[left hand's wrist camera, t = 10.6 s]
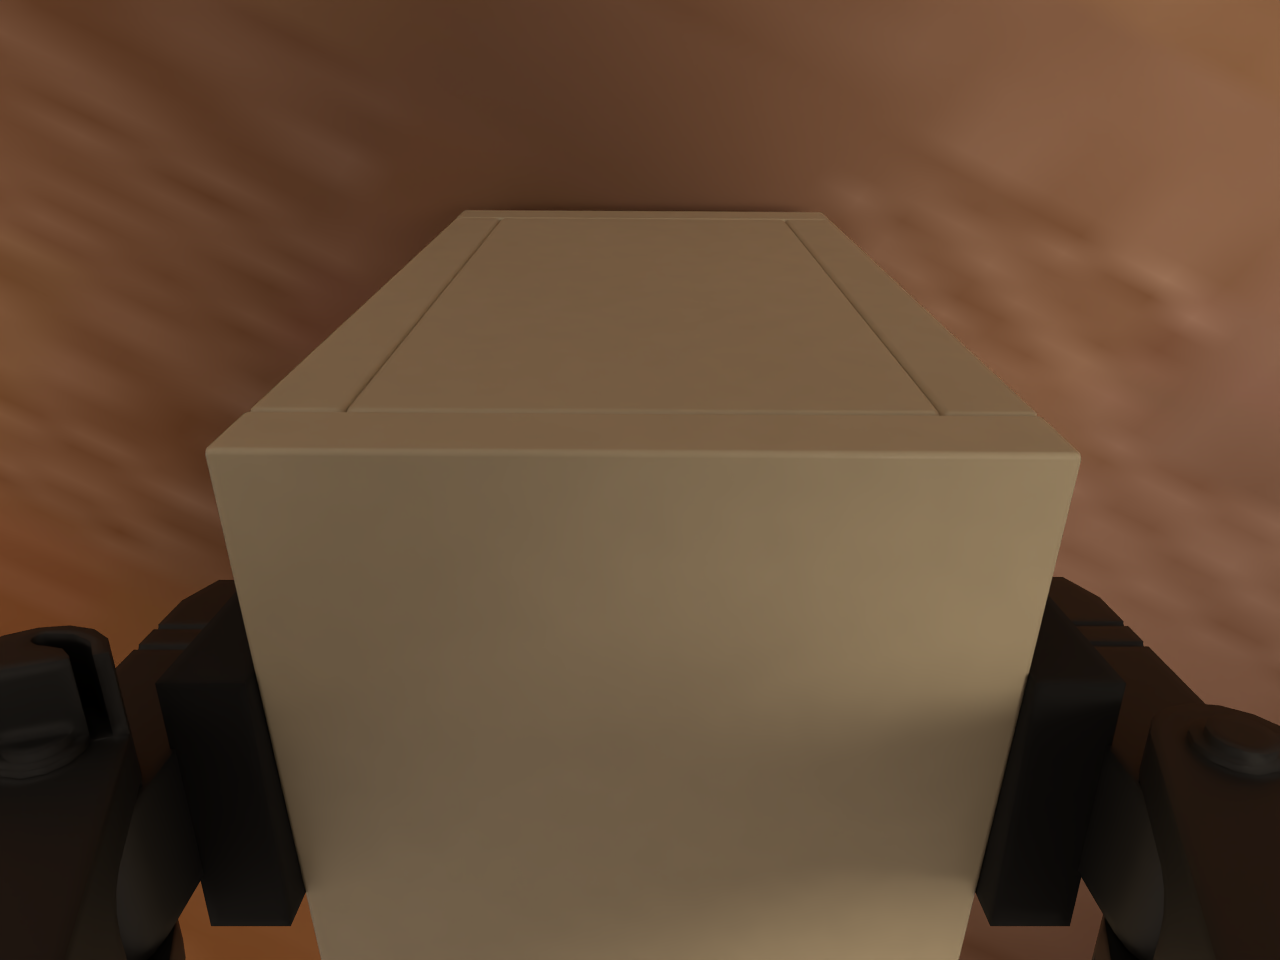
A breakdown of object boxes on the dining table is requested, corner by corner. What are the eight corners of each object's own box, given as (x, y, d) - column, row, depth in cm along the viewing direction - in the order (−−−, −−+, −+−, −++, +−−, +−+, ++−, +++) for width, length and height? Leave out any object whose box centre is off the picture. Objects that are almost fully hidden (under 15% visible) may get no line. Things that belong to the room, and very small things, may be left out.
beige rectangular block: (762, 866, 24) (844, 1431, 14) (515, 865, 24) (427, 1428, 14) (823, 211, 16) (1086, 453, 7) (463, 209, 16) (201, 449, 7)
